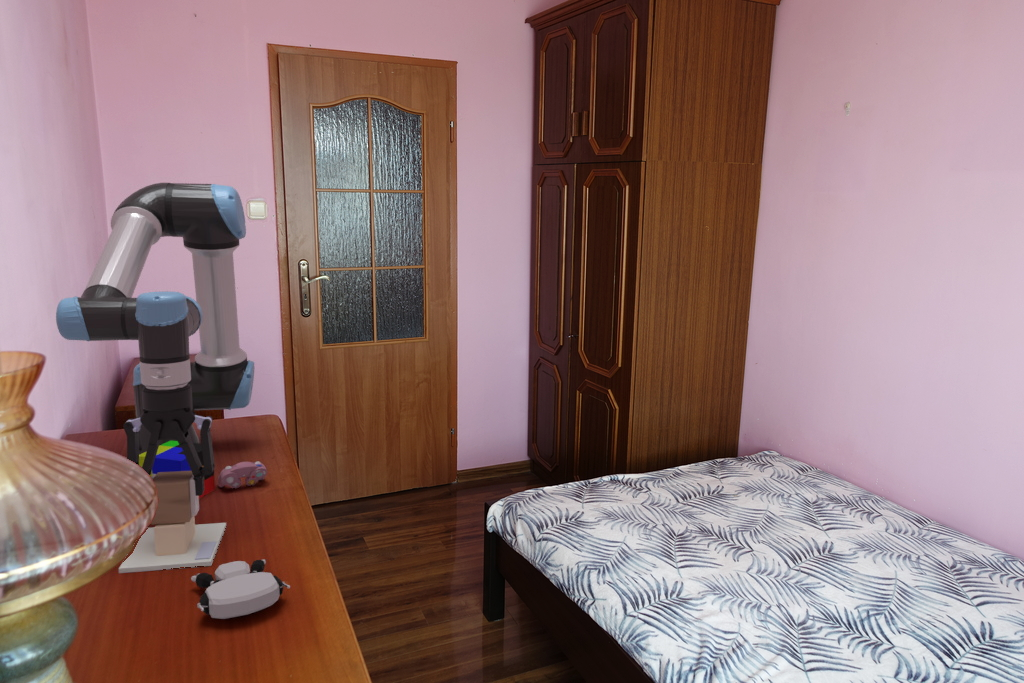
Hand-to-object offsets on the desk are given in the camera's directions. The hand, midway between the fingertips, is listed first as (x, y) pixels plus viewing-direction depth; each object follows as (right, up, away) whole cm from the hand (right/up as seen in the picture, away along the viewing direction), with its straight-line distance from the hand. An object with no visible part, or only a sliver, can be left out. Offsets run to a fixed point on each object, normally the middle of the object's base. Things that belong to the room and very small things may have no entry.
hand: (174, 513), depth 119 cm
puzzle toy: (-11, -2, +23) cm, 25 cm away
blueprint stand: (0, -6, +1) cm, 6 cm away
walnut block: (0, 0, 0) cm, 0 cm away
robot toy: (+17, -10, -14) cm, 24 cm away
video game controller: (0, -2, +29) cm, 29 cm away
